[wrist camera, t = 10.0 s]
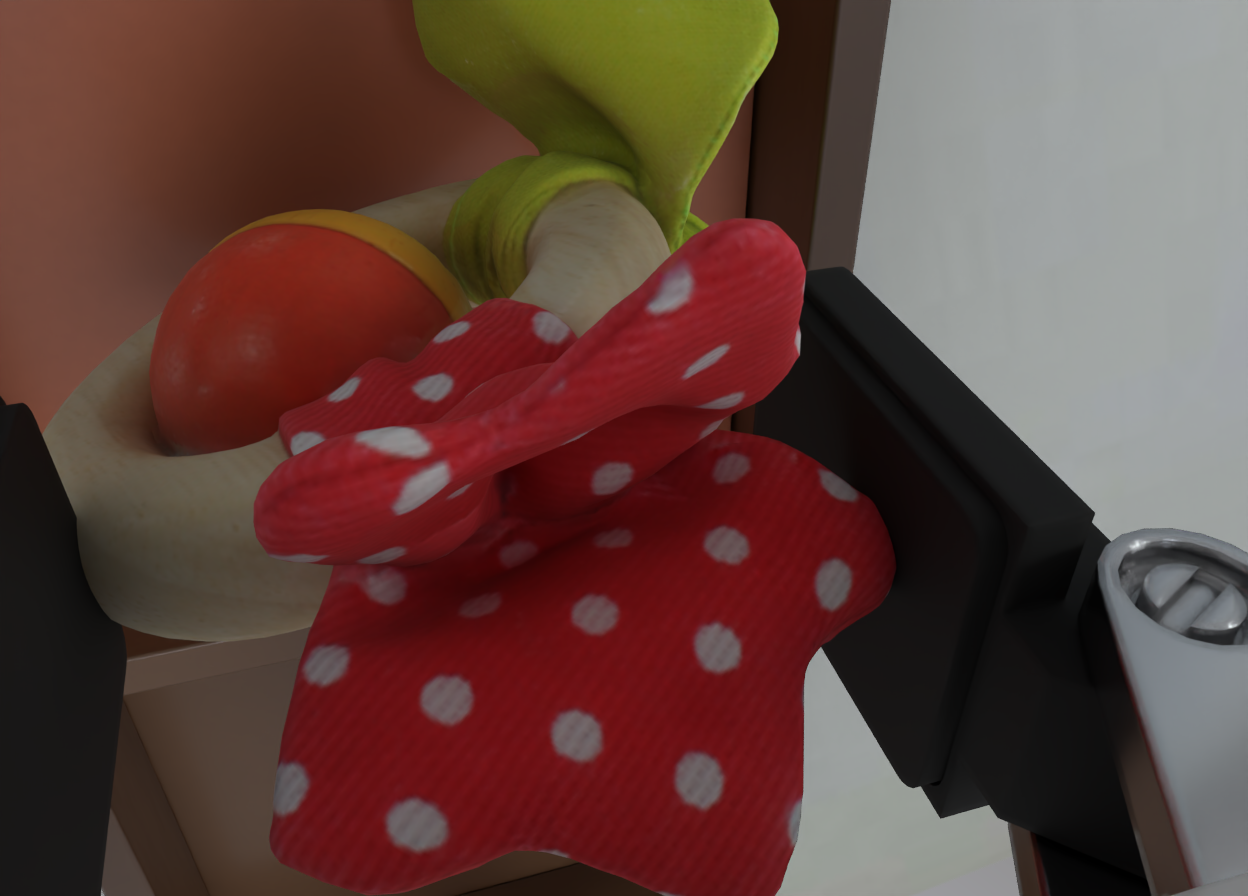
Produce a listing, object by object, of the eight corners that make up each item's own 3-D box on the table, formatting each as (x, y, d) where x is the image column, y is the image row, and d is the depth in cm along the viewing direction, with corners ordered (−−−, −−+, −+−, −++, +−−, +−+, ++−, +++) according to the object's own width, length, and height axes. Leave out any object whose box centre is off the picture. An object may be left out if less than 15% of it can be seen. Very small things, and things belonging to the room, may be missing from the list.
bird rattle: (377, 362, 18) (892, 220, 15) (93, 1069, 11) (1016, 1066, 8) (138, 34, 14) (769, -243, 11) (-587, 785, 7) (768, 546, 4)
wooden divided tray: (827, -393, 13) (950, -405, 11) (721, 822, 29) (763, 922, 27) (-436, -404, 10) (-632, -427, 8) (210, 960, 26) (207, 1085, 24)
